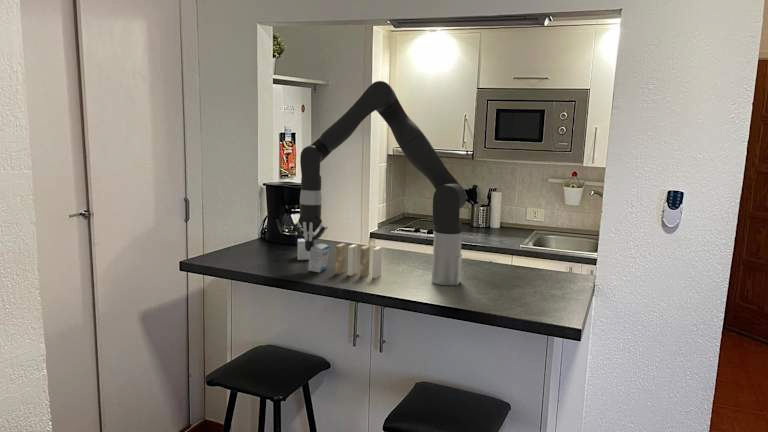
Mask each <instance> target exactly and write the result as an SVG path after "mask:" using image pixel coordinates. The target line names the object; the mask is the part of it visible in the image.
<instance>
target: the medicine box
mask: <svg viewBox="0 0 768 432" xmlns="http://www.w3.org/2000/svg"><path fill="white" fill-rule="evenodd" d="M329 252H330V245H329V244H326V243H325V244H324V243H317V244H314V246H313V247H311V251H310V259H309V261H308V271H309V272H314V273H319V274H320V273H321V272H323V271H324V270H326V269H327V268H328V261H329V254H330V253H329Z"/></svg>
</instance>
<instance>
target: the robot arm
mask: <svg viewBox="0 0 768 432" xmlns="http://www.w3.org/2000/svg"><path fill="white" fill-rule="evenodd" d="M373 112H377V113H378V114H379V115H380V117H382V119H383V120H384V121H385V123H386V125H388V127H389V129H390V130H391V132H392V135H393V137H394V140H395V141H396V143H397V145H398V147H399V148H400V150H401V152H402V153H403V155H404V156H405V158H407V161H409V163H410V164H411V165H412V166H413V167H415V168H416V170H418V171H419V173H422V175H424V177H426V179H427V180H429V182H430V183H431V186H432V187H433V188H434V190H435V191H434V194H433V197H432V224H433V228H434V229H433V245H432V246H433V247H432V248H433V250H432V251H433V252H432V271H431V282H432V283H433V284H435V285H441V286H458V285H459V284H460V283H461V277H462V264H463V263H462V261H463V260H462V259H463V258H462V257H463V255H462V253H461V252H462V236H463V235H462V234H463V224H462V223H461V221H460V215H461V214H460V209H462V208H463V207H464V206H465V205H466V202H467V194H466V191H465V188H464V187H463V186H462V185H461V184H460V182H459V181H458V180H457V179H456V178H455V177H454V176H453V175H452V174H451V172H450V171H449V169H448V168H447V167H446V166H445V164H444V163H443V161H442V159H441V158H440V155H438V153H437V151H436V150H435V148H433V145H432V143H431V142H430V141H429V140H428V138H427V137H426V135H425V134H424V132H423V131H422V130H421V129H420V127H419V126H418V125H417V124H416V123H415V122H414V121H413V120H412V119H411V118H410V116H409V115H408V114H407V113H406V111H405V110H404V107H403V105H402V104H401V102H400V101H399V99H398V97H397V95H396V93H395V91H394V89H393V88H392V87H391V85H390V84H389V83H388V82H386V81H384V80H376V81H374V82H373V83H371V84H370V85H369V86H368V87H367V88H366V89H365V91H364V92H363V93H362V94H361V96H360V97H359V98H358V99H357V100H356V101H355V102H354V104H353V105H352V106H351V107H350V108H349V109H348V110H346V111H345V113H344V114H342V116H341V117H339V119H337V120H336V121H335V122H334V123H332V125H330V126H329V127H327V129H326V130H324V131H323V132H322V133H321V135H320V137H318V138H317V139H316V140H315V141H313V142H312V143H311V144H310V145H307V146H305V147H303V149H302V150H301V152H300V157H299V159H300V173H301V180H300V181H301V182H300V195H299V218H298V220H297V222H296V223H293V224H292V227H293V229H294V230H295V232H296V234H297V235H298V237H299V239H304V240H305V249H306V251H311V247H313V246H315V241H316V240H319V239H320V238H321V237H322V235H323V234H325V232H326V231H327V230H328V226H327V225H325V224H323V221H322V196H323V195H322V176H321V174H320V173H321V163H322V162H323V161H324V160H325V159H326V158H327V157H328V156H329V155H330V154H331V153H332V152H333V151H334V150H336V149H337V148H339V147H340V146H341V145H342V144H343V143H344V142H346V141H347V140H348V139H349V138H350V137H351V136H352V135H353V133H354V132H356V130H357V128H359V126H360V124H361V123H362V122H363V121H364V120H365V119H366V118H367V117H368V116H369V115H371V114H372V113H373ZM318 229H319V230H318ZM317 231H318V232H317Z"/></svg>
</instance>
